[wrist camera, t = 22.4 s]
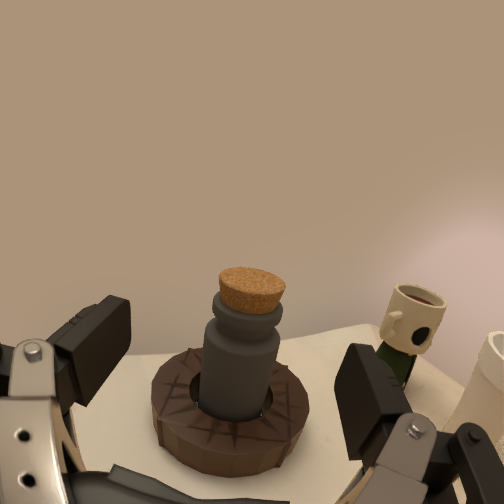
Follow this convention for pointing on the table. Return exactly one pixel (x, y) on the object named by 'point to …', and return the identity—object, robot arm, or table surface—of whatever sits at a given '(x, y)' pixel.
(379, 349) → the character mug
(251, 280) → the bottle
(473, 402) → the foam cup
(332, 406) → the table surface
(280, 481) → the table surface
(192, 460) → the stand
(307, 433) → the table surface
